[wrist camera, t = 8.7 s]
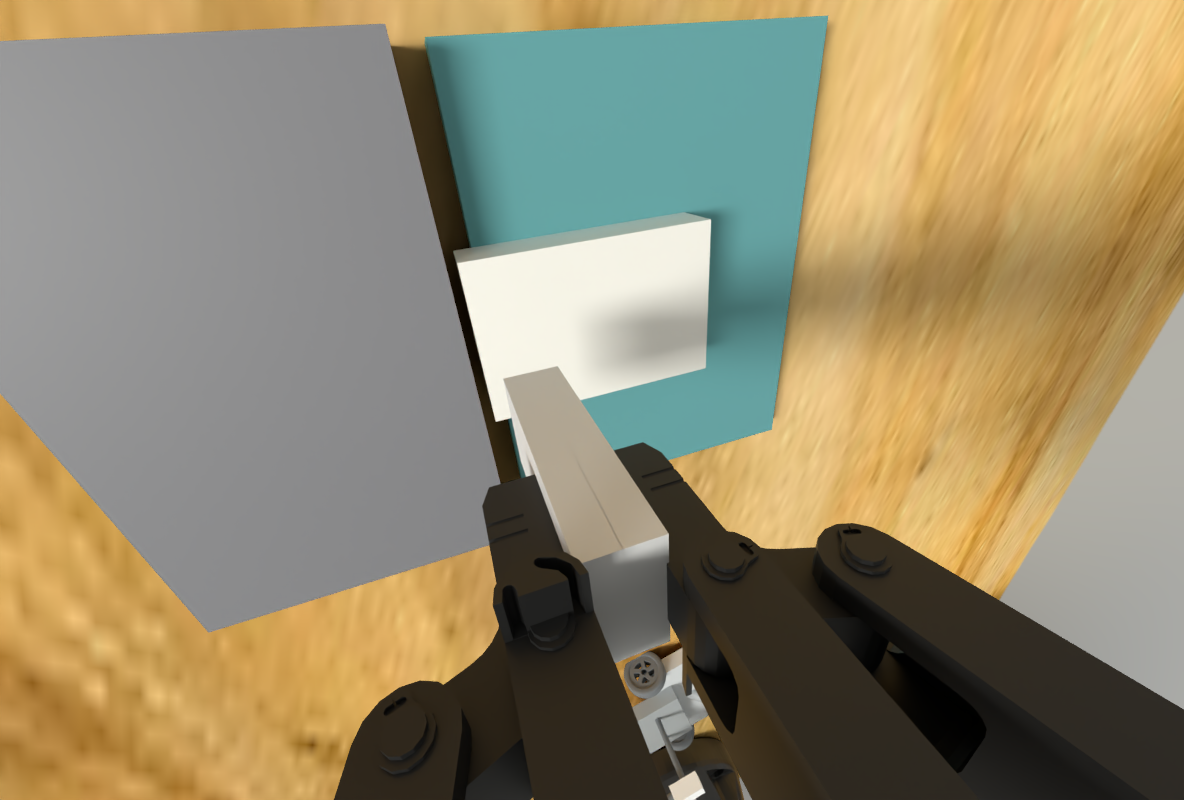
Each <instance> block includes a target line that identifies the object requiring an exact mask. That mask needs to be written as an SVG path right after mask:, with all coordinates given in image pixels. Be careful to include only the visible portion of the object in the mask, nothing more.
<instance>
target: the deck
mask: <svg viewBox="0 0 1184 800" xmlns="http://www.w3.org/2000/svg"><path fill="white" fill-rule="evenodd" d="M0 394H1V395H2V396H3V397H4V398H5V399H6V401H7V402H8V403H9V404H10V405H11V406H12V408H13V409H14V410H15V411H16V412H17V413H18V414H19V416H20V417H21V418H22V419H23V420H24V421H25V422H26V424H27V425H28V426H29V427H30V428H31V429H32V430H33V432H34V433H35V434H36V435H37V436H38V437H39V438H40V440H41V441H42V442H43V443H44V444H45V445H46V447H47V448H48V449H49V450H50V451H51V452H52V453H53V455H54V456H55V457H56V458H57V459H58V460H59V461H60V463H61V464H62V465H63V466H64V467H65V468H66V469H67V471H68V472H69V473H70V474H71V475H72V476H73V477H74V479H75V480H76V481H77V482H78V483H79V484H80V486H81V487H82V488H83V489H84V490H85V491H86V492H87V494H88V495H89V496H90V497H91V498H92V499H93V500H94V502H95V503H96V504H97V505H98V506H99V507H100V508H101V510H102V511H103V512H104V513H105V514H106V515H107V517H108V518H109V519H110V520H111V521H112V522H113V523H114V525H115V526H116V527H117V528H118V529H119V530H120V531H121V533H122V534H123V535H124V536H125V537H126V538H127V539H128V541H129V542H130V543H131V544H132V545H133V546H134V547H135V549H136V550H137V551H138V552H139V553H140V554H141V556H142V557H143V558H144V559H145V560H146V561H147V562H148V564H149V565H150V566H151V567H152V568H153V569H154V570H155V572H156V573H157V574H158V575H159V576H160V577H161V578H162V580H163V581H164V582H165V583H166V584H167V585H168V586H169V588H170V589H171V590H172V591H173V592H174V593H175V595H176V596H177V597H178V598H179V599H180V600H181V601H182V603H183V604H184V605H185V606H186V607H187V608H188V609H189V611H190V612H191V613H192V614H193V615H194V616H195V617H196V619H197V620H198V621H199V622H200V623H201V624H202V625H203V627H204V628H205V629H206V630H207V631H208V632H212V631H215V630H218V629H222V628H225V627H228V626H231V625H234V624H238V623H241V622H244V621H247V620H250V619H254V618H257V617H260V616H263V615H266V614H270V613H273V612H276V611H279V610H282V609H286V608H289V607H292V606H295V605H298V604H302V603H305V602H308V601H311V600H314V599H318V598H321V597H324V596H327V595H331V594H334V593H337V592H340V591H343V590H347V589H350V588H353V587H356V586H359V585H363V584H366V583H369V582H372V581H375V580H379V579H382V578H385V577H388V576H391V575H395V574H398V573H401V572H404V571H407V570H411V569H414V568H417V567H420V566H424V565H427V564H430V563H433V562H436V561H440V560H443V559H446V558H449V557H452V556H456V555H459V554H462V553H465V552H468V551H472V550H475V549H478V548H481V547H484V546H488V545H490V544H489V540H488V535H487V528H486V524H485V519H484V513H483V508H482V505H483V502H484V500H485V497H486V494H487V491H488V489H489V487H492V486H495V485H499V484H501V483H500V480H499V476H498V472H497V468H496V464H495V460H494V456H493V452H492V448H491V444H490V440H489V436H488V432H487V428H486V424H485V420H484V416H483V412H482V408H481V404H480V400H479V396H478V392H477V388H476V384H475V380H474V376H473V372H472V368H471V364H470V360H469V356H468V352H467V348H466V344H465V340H464V336H463V332H462V328H461V324H460V320H459V316H458V312H457V308H456V304H455V300H454V296H453V292H452V288H451V285H450V281H449V277H448V273H447V269H446V265H445V261H444V257H443V253H442V249H441V245H440V241H439V237H438V233H437V229H436V225H435V221H434V217H433V213H432V209H431V205H430V201H429V197H428V193H427V189H426V185H425V181H424V177H423V173H422V169H421V165H420V161H419V157H418V153H417V149H416V145H415V141H414V137H413V133H412V129H411V125H410V121H409V117H408V113H407V109H406V105H405V101H404V97H403V93H402V89H401V86H400V82H399V78H398V74H397V70H396V66H395V62H394V58H393V54H392V50H391V46H390V42H389V38H388V34H387V30H386V26H385V24H369V25H347V26H325V27H303V28H281V29H259V30H237V31H215V32H193V33H170V34H148V35H126V36H104V37H82V38H60V39H38V40H16V41H0Z"/></svg>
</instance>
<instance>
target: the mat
mask: <svg viewBox="0 0 1184 800" xmlns="http://www.w3.org/2000/svg"><path fill="white" fill-rule="evenodd" d="M827 21H828V16H814V17H795V18H776V19H757V20H739V21H720V22H701V23H682V24H663V25H644V26H625V27H606V28H587V29H568V30H549V31H530V32H511V33H492V34H473V35H454V36H435V37H425V47H426V52H427V56H428V61H429V65H430V70H431V74H432V79H433V83H434V88H435V93H436V97H437V102H438V106H439V111H440V115H441V120H442V124H443V129H444V133H445V138H446V142H447V147H448V152H449V156H450V161H451V165H452V170H453V174H454V179H455V183H456V188H457V192H458V197H459V201H460V206H461V211H462V215H463V220H464V224H465V229H466V233H467V238H468V242H469V247H470V248H473V247H479V246H485V245H491V244H497V243H503V242H509V241H515V240H521V239H527V238H533V237H539V236H545V235H551V234H557V233H563V232H569V231H575V230H581V229H587V228H593V227H599V226H605V225H611V224H617V223H623V222H629V221H635V220H641V219H647V218H653V217H659V216H665V215H671V214H677V213H683V212H685V213H689V214H693V215H696V216H700V217H704V218H708V219H711V236H710V264H709V291H708V318H707V345H706V368H704V369H700V370H696V371H693V372H689V373H685V374H681V375H677V376H673V377H669V378H665V379H661V380H657V381H653V382H650V383H646V384H642V385H638V386H634V387H630V388H626V389H622V390H618V391H614V392H611V393H607V394H603V395H599V396H595V397H591V398H587V399H583V400H580V401H581V402H582V404H583V405H584V407H585V408H586V410H587V411H588V413H589V414H590V416H591V417H592V419H593V420H594V422H595V423H596V425H597V426H598V428H599V429H600V431H601V432H602V434H603V435H604V437H605V438H606V440H607V441H608V443H609V444H610V446H611V447H612V449H613V450H617V449H620V448H624V447H627V446H631V445H634V444H638V443H642V442H644V443H646V444H647V445H649V446H651V447H653V448H655V449H657V450H658V451H660V452H662V453H663V455H664V456H665V457H666V458H667V460H670V459H673V458H677V457H680V456H684V455H687V454H690V453H694V452H697V451H700V450H704V449H707V448H711V447H714V446H717V445H721V444H724V443H728V442H731V441H734V440H738V439H741V438H744V437H748V436H751V435H755V434H758V433H761V432H765V431H768V430H772V423H773V416H774V408H775V401H776V394H777V387H778V379H779V372H780V365H781V357H782V350H783V343H784V335H785V328H786V321H787V313H788V306H789V299H790V291H791V284H792V277H793V269H794V262H795V255H796V247H797V240H798V233H799V225H800V218H801V211H802V204H803V196H804V189H805V182H806V174H807V167H808V160H809V152H810V145H811V138H812V130H813V123H814V116H815V108H816V101H817V94H818V86H819V79H820V72H821V64H822V57H823V50H824V43H825V35H826V28H827ZM508 424H509V429H510V433H511V438H512V442H513V447H514V451H515V456H516V460H517V465H518V469H519V474H520V478H524V477H526V475H525V472H524V469H523V466H522V463H521V460H520V455H519V450H518V446H517V441H516V436H515V432H514V427H513V423H512V418H509V419H508Z"/></svg>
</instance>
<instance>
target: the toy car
mask: <svg viewBox="0 0 1184 800" xmlns="http://www.w3.org/2000/svg"><path fill="white" fill-rule="evenodd" d="M646 665H650V666H649V667H646ZM641 666H642V668H641V669H639V668H640V667H641ZM636 677H639V679H638V681H637V680H636ZM624 678H625V682H626V684H627V686H628V688H629V689H630V691H631V692H632V693H633V694H634V695H636V696H637V697H640V698H645V699H646V700H644V701H643V702H641V703H639V704H637V705H636V706H634V707H632V708H633V711H634V713H635V716H636V718H637V721H638V724H639V726H640V729H641V731H642V734H643V736H644V739H645V741H646V744H647V746H648V749H649V752H650V754H651V753H653V752H654V751H656V750H658V749H660V748H661V747H663V746H666V748H667V751H668V753H669V755H670V758H671V760H672V762H673V765H674V767H675V770H676V772H677V774H678V777H679V779H680V780H678V781H677V782H675V783H673V784H672V785H670V786H669V788H670V791H671V793H669V794H667V797H668V800H696V798H697V797H699V796H700V795H702V794H704V793H705V791H704V788H703V786H702V784H701V782H700V780H699V777H698V775H697V773H696V772H695V771H694V772H692V773H690V774H689V775H687V776H685V775H684V773H683V771H682V768H681V766H680V764H679V761H678V759H677V756H676V754H675V752H674V750H675V751H681V750H684V749H686V748H687V747H688V746H689V745H690V744H691V743H692V741H693V738H694V725H693V724H695V723H696V722H698V721H700V720H701V719H703V718H705V717H707V716H708V713H707V711H706V709H705V707H704V705H703V703H702V701H701V699H700V697H699V696H698V694H697V692H696V690H695V688H694V686H693V684H692V694H691V695H689V696H687V697H686V695H685V691H684V688H683V684H682V648H681V649H679V650H677V651H675V652H674V653H672V654H670V655H668V656H667V657H665V658H663V659H660V658H659V657H658V656H657V655H656V654H655V653H653V652H651V651H648V652H646V653H644V654H643V655H641V656H640V657H638V658H636V659H634V660H632V661H630V662H628V663H627V664H626V665H625V669H624ZM645 681H647V683H645ZM647 698H648V699H647Z"/></svg>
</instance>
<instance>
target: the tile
mask: <svg viewBox="0 0 1184 800" xmlns="http://www.w3.org/2000/svg"><path fill="white" fill-rule="evenodd" d="M710 236H711V219H708V218H704V217H700V216H696V215H693V214H689V213H685V212H683V213H677V214H671V215H665V216H659V217H653V218H647V219H641V220H635V221H629V222H623V223H617V224H611V225H605V226H599V227H593V228H587V229H581V230H575V231H569V232H563V233H557V234H551V235H545V236H539V237H533V238H527V239H521V240H515V241H509V242H503V243H497V244H491V245H485V246H479V247H473V248H467V249H461V250H455V251H453V254H454V258H455V262H456V266H457V270H458V274H459V278H460V282H461V286H462V290H463V294H464V298H465V302H466V306H467V311H468V315H469V319H470V323H471V327H472V331H473V335H474V339H475V343H476V347H477V351H478V355H479V359H480V363H481V367H482V371H483V376H484V380H485V384H486V388H487V392H488V396H489V400H490V403H491V406H492V410H493V413H494V417H495V420H496V422H497V421H501V420H505V419H509V418H511V413H510V409H509V404H508V399H507V395H506V390H505V385H504V381H503V379H504V378H508V377H512V376H517V375H521V374H525V373H530V372H534V371H538V370H543V369H547V368H552V367H556V366H558V368H559V369H560V371H561V372H562V374H563V375H564V377H565V378H566V380H567V381H568V383H569V384H570V386H571V387H572V389H573V390H574V392H575V393H576V395H577V396H578V398H579V399H580V400H583V399H587V398H591V397H595V396H599V395H603V394H607V393H611V392H614V391H618V390H622V389H626V388H630V387H634V386H638V385H642V384H646V383H650V382H653V381H657V380H661V379H665V378H669V377H673V376H677V375H681V374H685V373H689V372H693V371H696V370H700V369H704V368H706V345H707V318H708V291H709V264H710Z"/></svg>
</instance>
